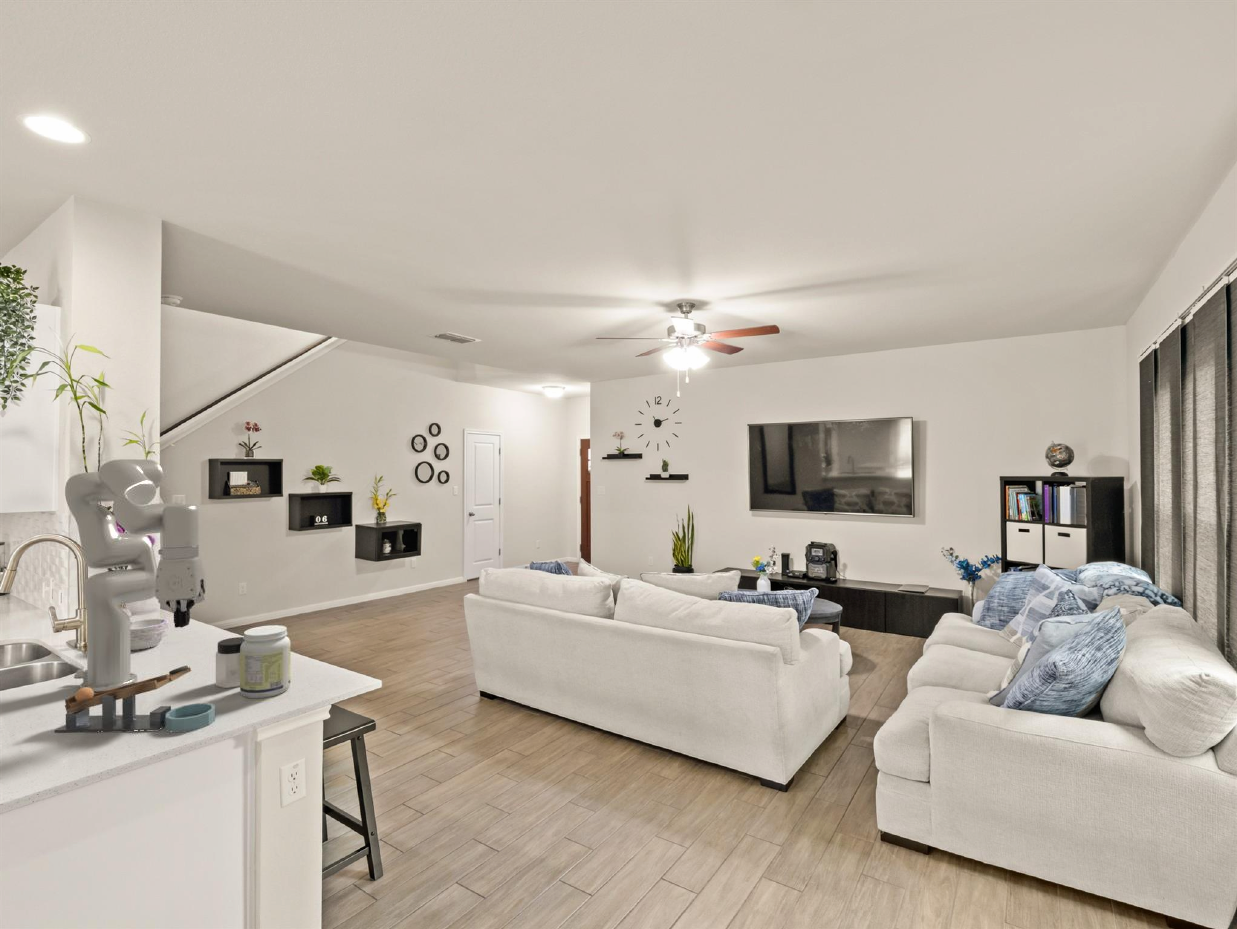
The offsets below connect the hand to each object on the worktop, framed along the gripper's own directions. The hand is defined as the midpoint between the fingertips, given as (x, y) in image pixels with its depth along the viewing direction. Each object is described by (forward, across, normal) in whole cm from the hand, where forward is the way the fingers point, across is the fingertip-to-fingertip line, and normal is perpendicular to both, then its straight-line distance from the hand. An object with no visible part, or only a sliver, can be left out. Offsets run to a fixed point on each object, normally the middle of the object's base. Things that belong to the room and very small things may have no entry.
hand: (181, 626), depth 162 cm
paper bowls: (+20, -48, +57) cm, 77 cm away
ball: (+14, -18, -8) cm, 24 cm away
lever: (+15, -9, -4) cm, 18 cm away
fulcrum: (+21, -10, -8) cm, 25 cm away
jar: (+21, +2, +20) cm, 29 cm away
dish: (+22, +7, -8) cm, 24 cm away
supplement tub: (+22, +14, +13) cm, 29 cm away
